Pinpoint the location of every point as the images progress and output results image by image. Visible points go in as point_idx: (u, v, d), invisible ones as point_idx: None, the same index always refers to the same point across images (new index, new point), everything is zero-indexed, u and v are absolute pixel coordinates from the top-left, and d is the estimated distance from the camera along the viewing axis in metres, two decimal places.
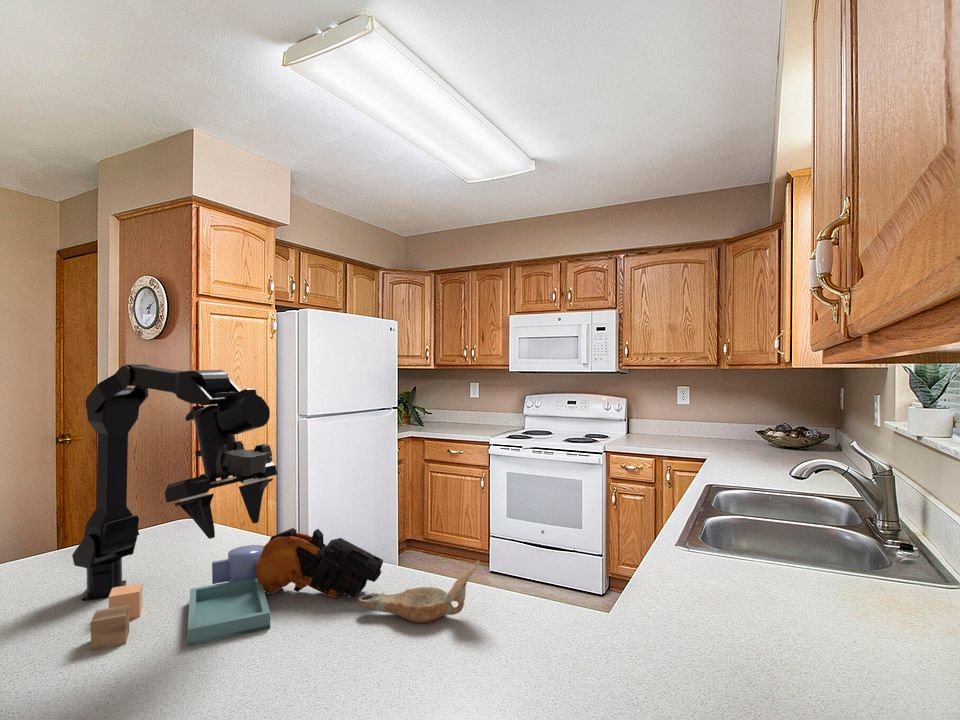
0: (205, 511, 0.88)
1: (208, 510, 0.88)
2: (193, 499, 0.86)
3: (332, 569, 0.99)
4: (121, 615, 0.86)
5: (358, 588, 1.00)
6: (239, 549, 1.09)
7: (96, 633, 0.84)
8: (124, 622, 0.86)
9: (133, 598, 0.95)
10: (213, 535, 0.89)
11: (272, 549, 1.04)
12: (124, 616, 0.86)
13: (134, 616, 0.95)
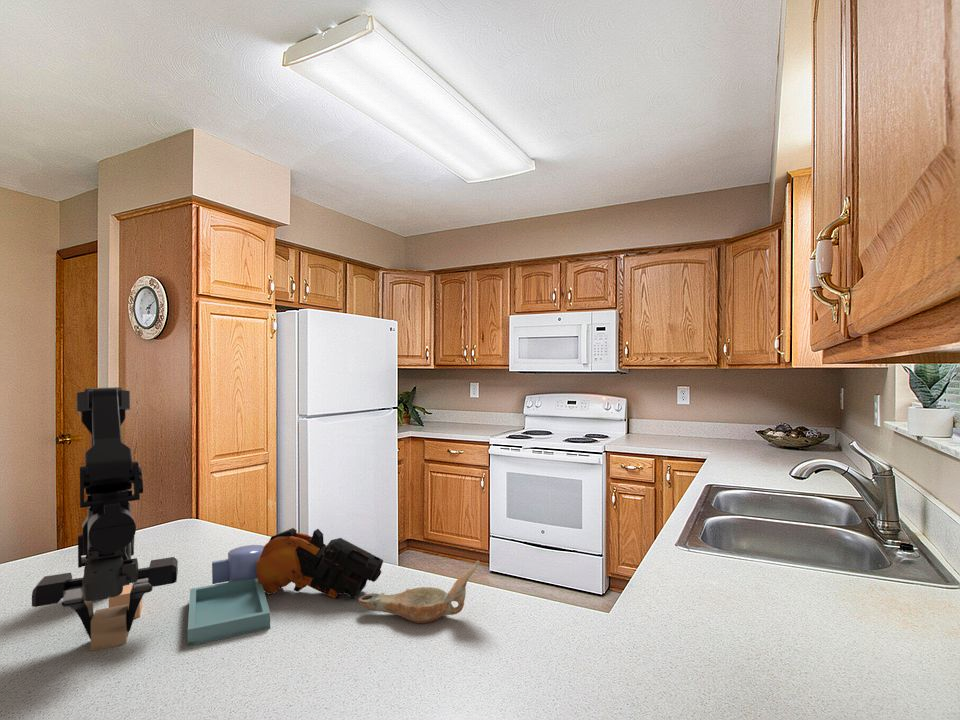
0: (80, 614, 0.84)
1: (84, 613, 0.84)
2: (61, 603, 0.83)
3: (332, 569, 0.99)
4: (121, 614, 0.86)
5: (358, 588, 1.00)
6: (239, 549, 1.09)
7: (96, 632, 0.84)
8: (124, 621, 0.86)
9: None
10: (90, 637, 0.85)
11: (272, 549, 1.04)
12: (124, 615, 0.86)
13: (134, 616, 0.95)
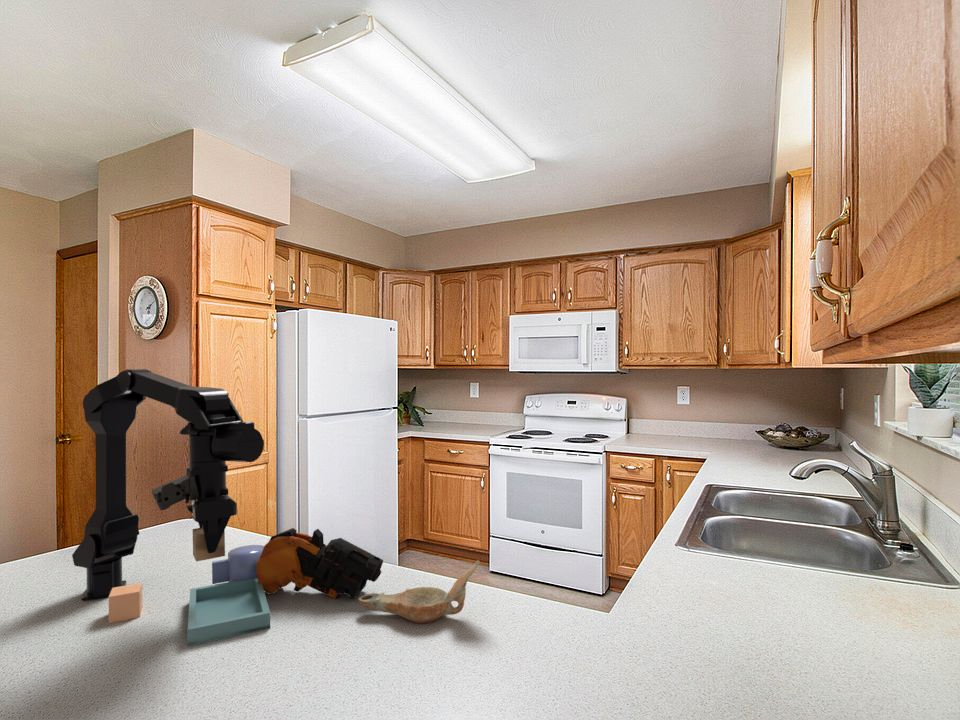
0: None
1: None
2: (192, 505, 1.00)
3: (332, 569, 0.99)
4: (198, 533, 0.94)
5: (358, 588, 1.00)
6: (239, 549, 1.09)
7: (193, 540, 0.96)
8: (195, 541, 0.93)
9: (133, 598, 0.95)
10: None
11: (272, 549, 1.04)
12: (195, 535, 0.93)
13: (134, 616, 0.95)
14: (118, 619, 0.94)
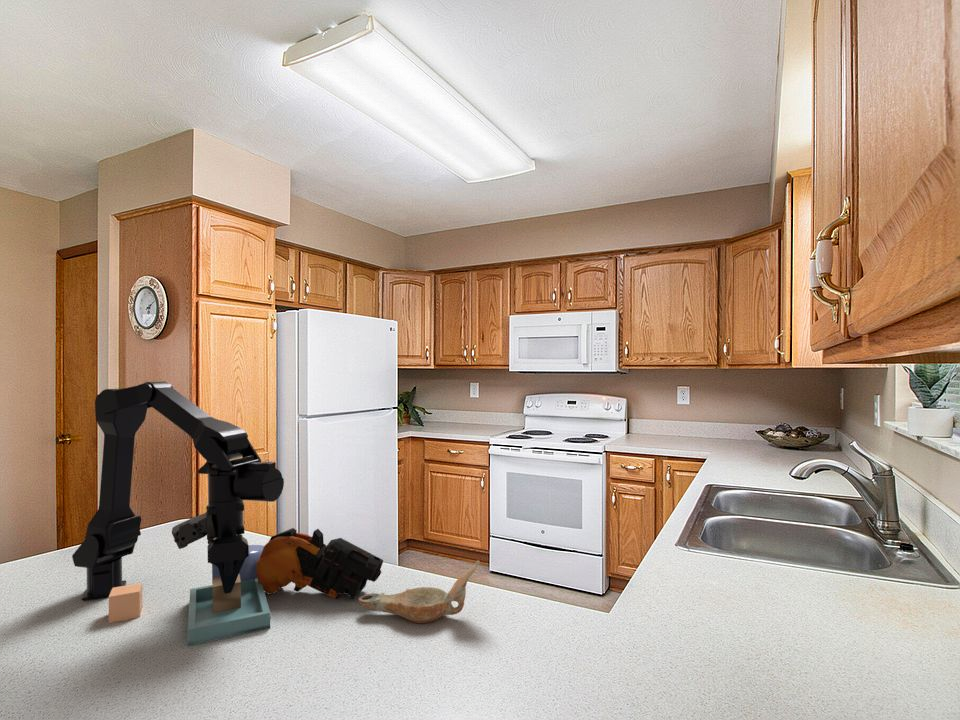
0: None
1: None
2: None
3: (332, 569, 0.99)
4: (215, 585, 0.96)
5: (358, 588, 1.00)
6: None
7: None
8: None
9: (133, 598, 0.95)
10: None
11: (272, 549, 1.04)
12: None
13: (134, 616, 0.95)
14: (118, 619, 0.94)
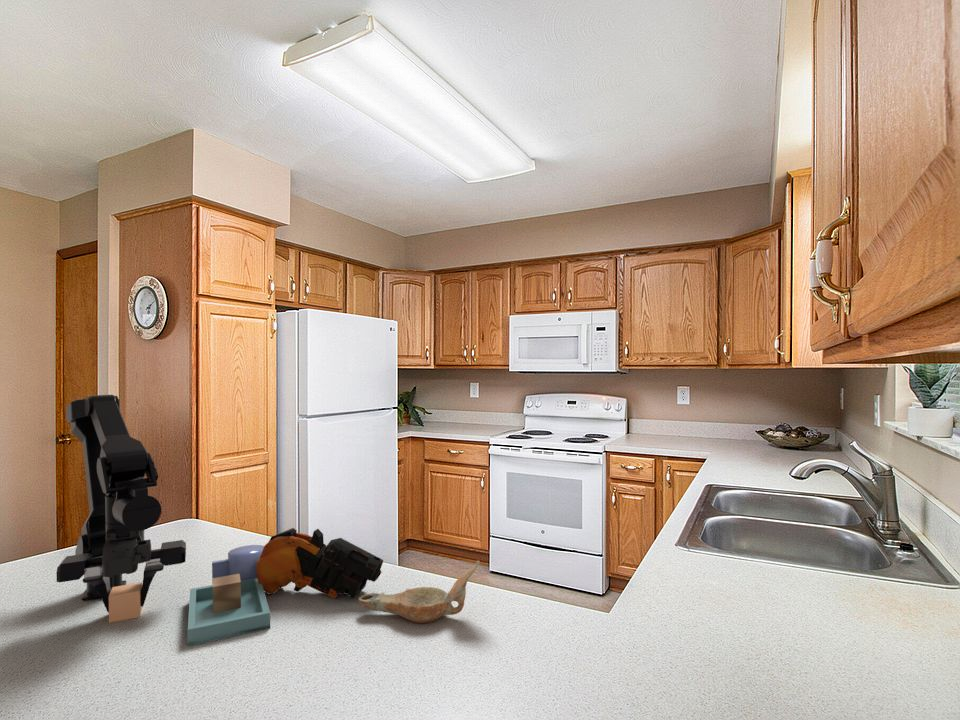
0: (99, 590, 0.94)
1: (102, 589, 0.94)
2: (83, 580, 0.92)
3: (332, 569, 0.99)
4: (215, 585, 0.96)
5: (358, 588, 1.00)
6: (239, 549, 1.09)
7: None
8: None
9: (133, 597, 0.95)
10: (108, 610, 0.95)
11: (272, 549, 1.04)
12: None
13: (134, 615, 0.95)
14: (118, 618, 0.94)
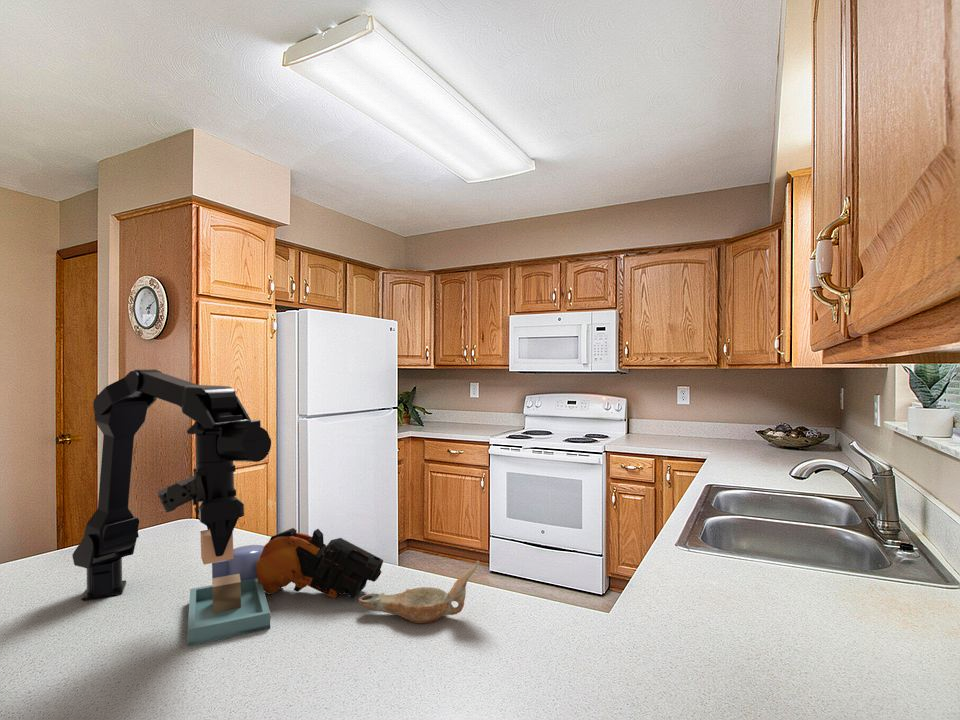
0: None
1: None
2: None
3: (332, 569, 0.99)
4: (215, 585, 0.96)
5: (358, 588, 1.00)
6: (239, 549, 1.09)
7: None
8: None
9: (202, 542, 0.91)
10: None
11: (272, 549, 1.04)
12: None
13: (203, 561, 0.91)
14: (201, 557, 0.93)
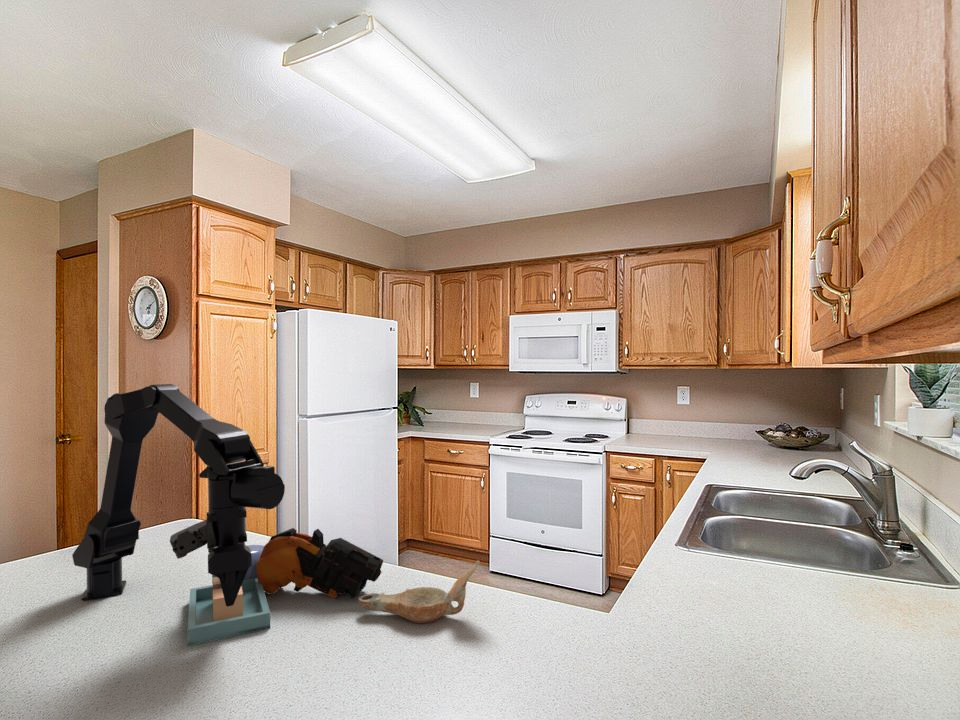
0: None
1: None
2: None
3: (332, 569, 0.99)
4: (215, 583, 0.96)
5: (358, 588, 1.00)
6: None
7: None
8: None
9: (213, 603, 0.91)
10: None
11: (272, 549, 1.04)
12: (213, 585, 0.96)
13: None
14: None
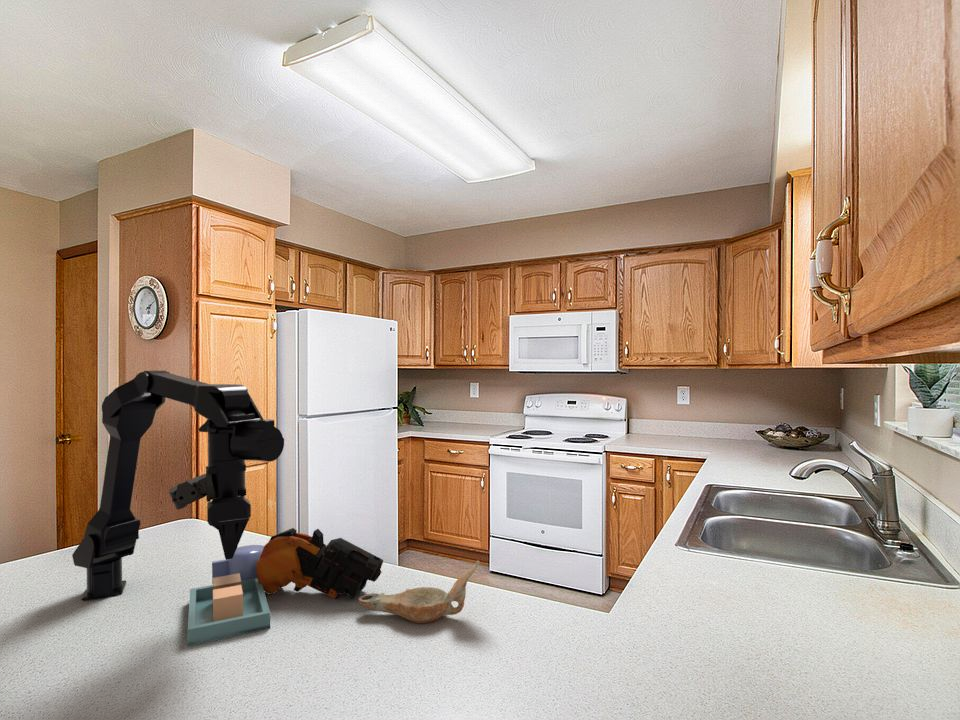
0: None
1: None
2: None
3: (332, 569, 0.99)
4: (215, 584, 0.96)
5: (358, 588, 1.00)
6: (239, 549, 1.09)
7: None
8: None
9: (213, 603, 0.91)
10: None
11: (272, 549, 1.04)
12: (213, 586, 0.96)
13: None
14: None
